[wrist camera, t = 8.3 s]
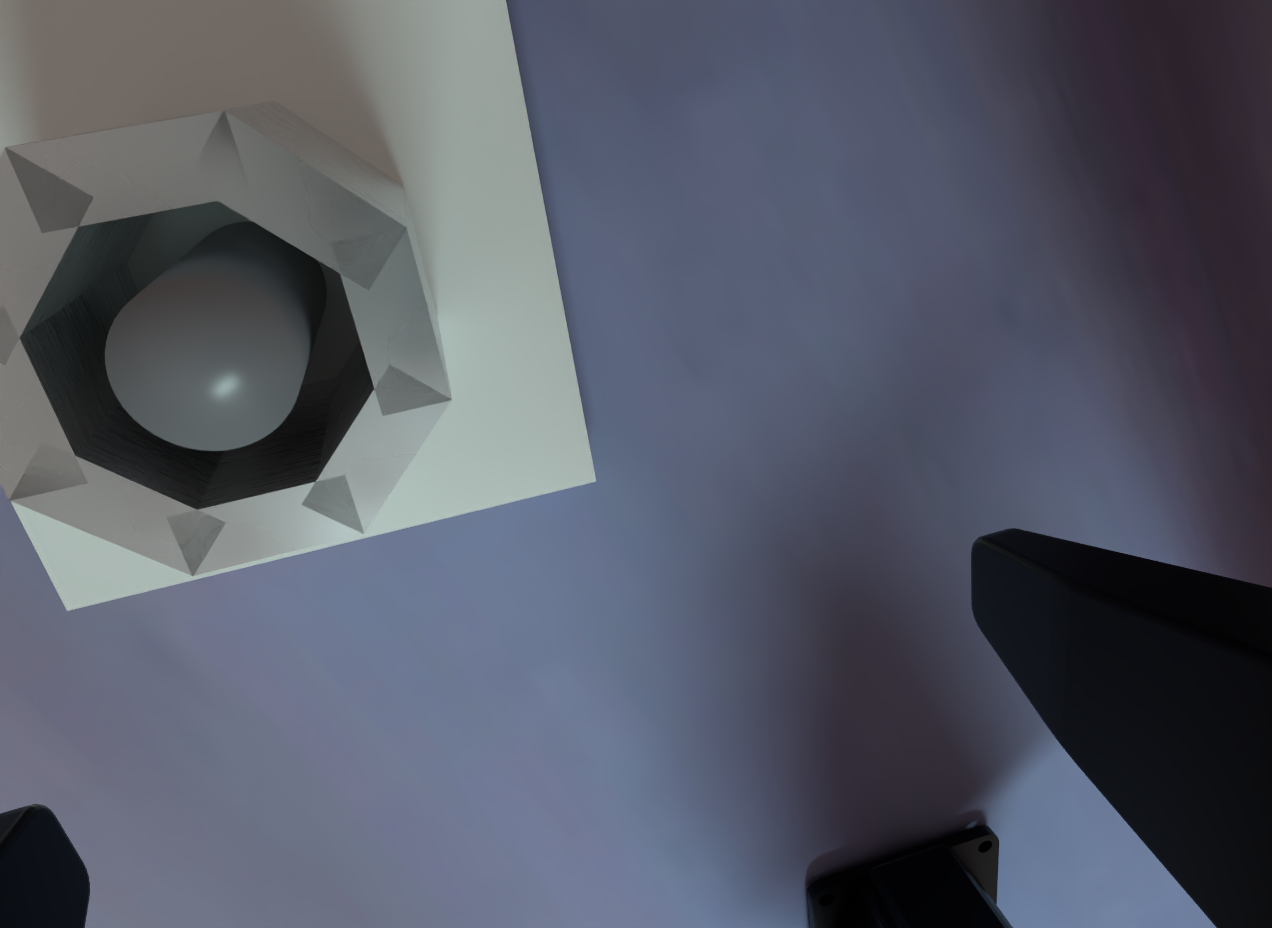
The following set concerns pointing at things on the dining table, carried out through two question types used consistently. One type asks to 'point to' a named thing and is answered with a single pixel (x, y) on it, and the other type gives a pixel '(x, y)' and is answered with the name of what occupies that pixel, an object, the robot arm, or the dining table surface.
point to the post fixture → (291, 279)
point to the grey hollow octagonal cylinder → (102, 285)
